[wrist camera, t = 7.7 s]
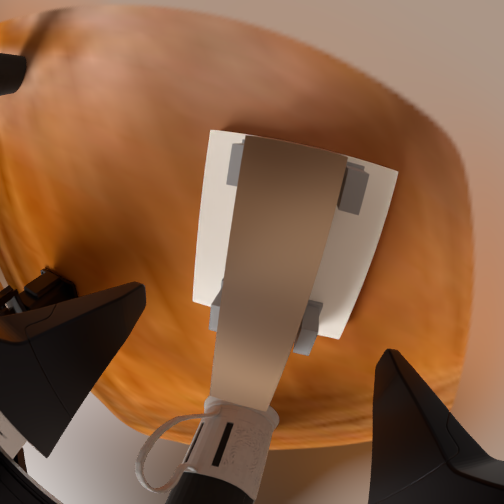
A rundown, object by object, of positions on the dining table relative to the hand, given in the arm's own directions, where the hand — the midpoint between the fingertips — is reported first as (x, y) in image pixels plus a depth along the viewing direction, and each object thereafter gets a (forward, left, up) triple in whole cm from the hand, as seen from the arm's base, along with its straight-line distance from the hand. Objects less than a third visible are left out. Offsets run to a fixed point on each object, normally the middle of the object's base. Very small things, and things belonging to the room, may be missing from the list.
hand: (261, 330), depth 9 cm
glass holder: (-20, +2, -10) cm, 22 cm away
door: (0, 0, -8) cm, 8 cm away
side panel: (0, 0, -10) cm, 10 cm away
